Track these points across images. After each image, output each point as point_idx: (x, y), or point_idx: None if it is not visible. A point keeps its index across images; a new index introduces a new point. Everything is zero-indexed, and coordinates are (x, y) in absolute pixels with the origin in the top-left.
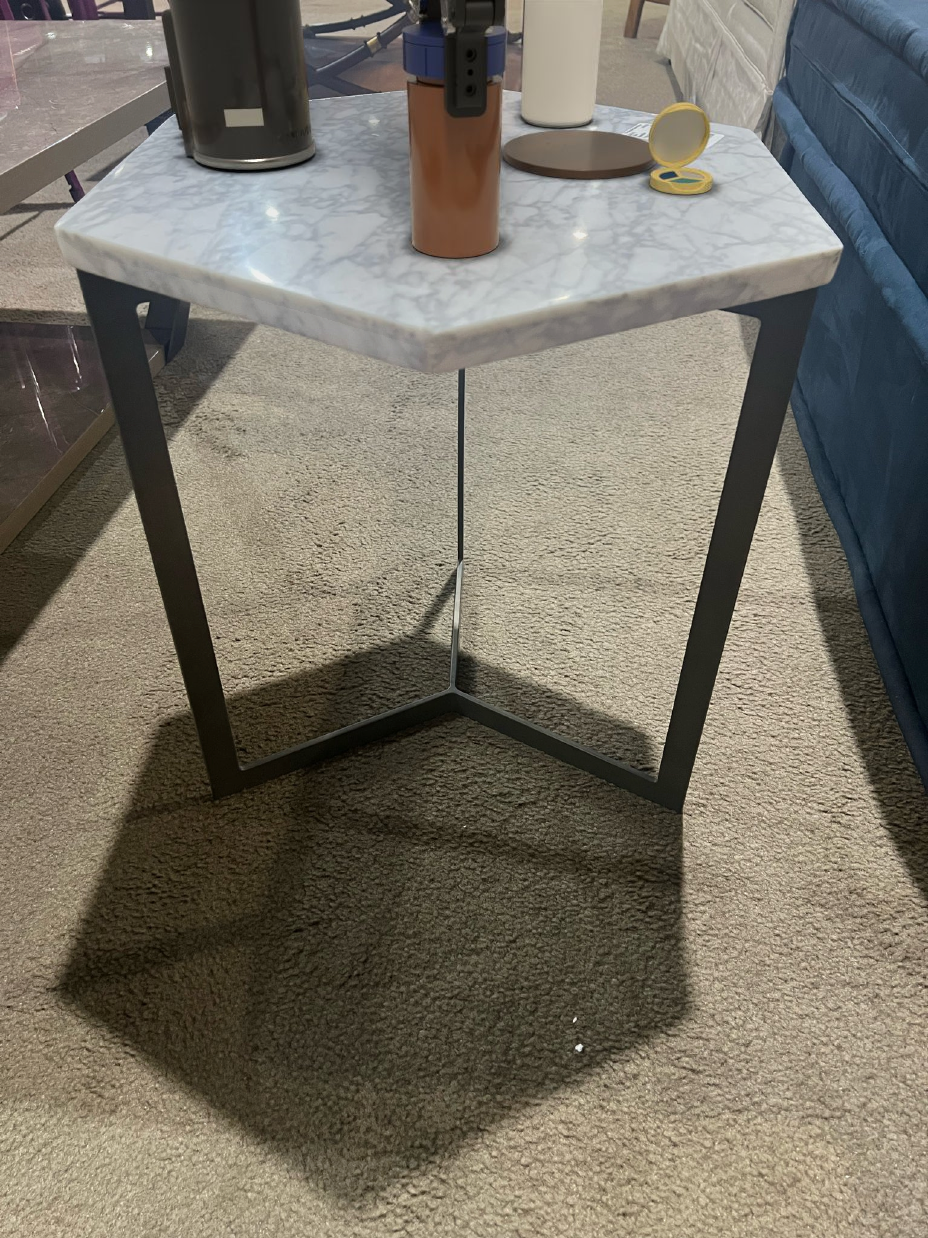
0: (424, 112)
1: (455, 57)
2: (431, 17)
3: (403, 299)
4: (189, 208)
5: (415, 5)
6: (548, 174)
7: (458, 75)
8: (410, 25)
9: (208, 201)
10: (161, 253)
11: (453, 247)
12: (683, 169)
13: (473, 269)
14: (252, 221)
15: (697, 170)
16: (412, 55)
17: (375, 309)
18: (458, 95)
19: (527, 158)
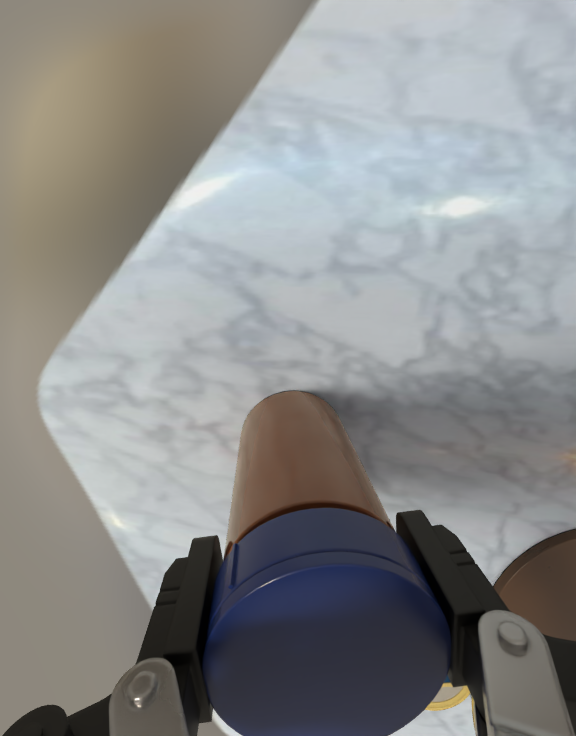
0: (249, 498)
1: (163, 631)
2: (460, 636)
3: (116, 367)
4: (519, 61)
5: (496, 629)
6: (512, 565)
7: (155, 607)
8: (405, 584)
9: (546, 95)
10: (312, 25)
11: (240, 437)
12: (464, 691)
13: (205, 449)
14: (429, 175)
15: (455, 702)
16: (266, 548)
17: (86, 334)
18: (165, 577)
19: (562, 554)
